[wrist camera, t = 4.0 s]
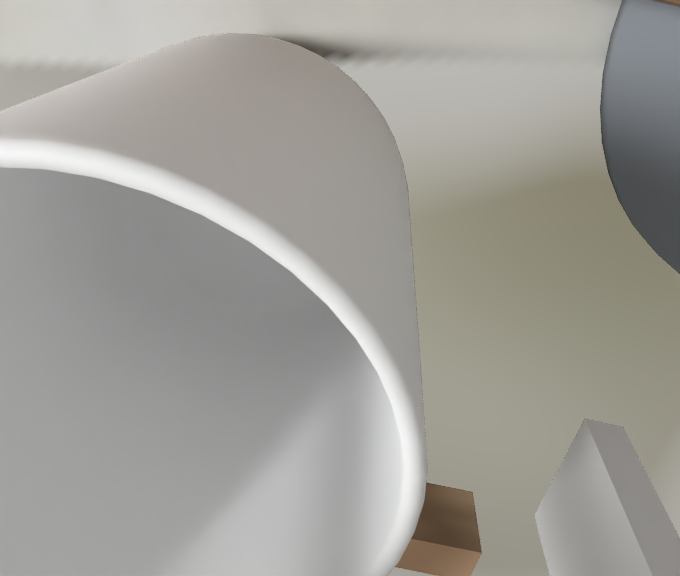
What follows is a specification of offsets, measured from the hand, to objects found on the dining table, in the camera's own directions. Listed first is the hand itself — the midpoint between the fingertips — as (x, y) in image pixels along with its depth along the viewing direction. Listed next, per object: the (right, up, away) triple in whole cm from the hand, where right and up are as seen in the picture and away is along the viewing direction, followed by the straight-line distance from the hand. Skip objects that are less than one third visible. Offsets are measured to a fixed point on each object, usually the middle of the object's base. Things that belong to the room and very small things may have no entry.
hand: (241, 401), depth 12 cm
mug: (0, +4, +6) cm, 7 cm away
